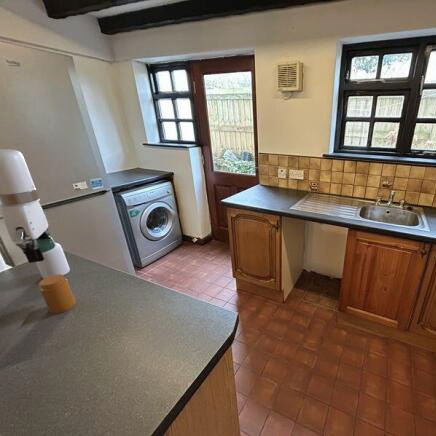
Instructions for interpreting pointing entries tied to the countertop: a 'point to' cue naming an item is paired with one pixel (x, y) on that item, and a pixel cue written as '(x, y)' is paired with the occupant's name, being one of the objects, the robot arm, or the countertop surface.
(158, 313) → the countertop surface
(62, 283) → the honey jar
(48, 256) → the pill bottle
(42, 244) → the jar lid
